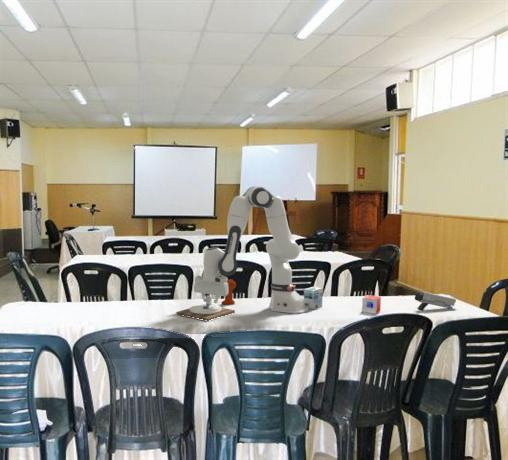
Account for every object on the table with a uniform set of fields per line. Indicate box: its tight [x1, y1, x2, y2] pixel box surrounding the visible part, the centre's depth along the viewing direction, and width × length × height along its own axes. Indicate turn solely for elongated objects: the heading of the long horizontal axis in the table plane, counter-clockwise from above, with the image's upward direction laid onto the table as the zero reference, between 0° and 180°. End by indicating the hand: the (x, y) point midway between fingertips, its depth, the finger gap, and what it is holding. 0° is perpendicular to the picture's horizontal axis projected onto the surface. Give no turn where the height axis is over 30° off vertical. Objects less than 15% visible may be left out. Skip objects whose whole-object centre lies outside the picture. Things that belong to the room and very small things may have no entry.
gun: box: [414, 291, 457, 311], centre depth 271 cm, size 2×25×10 cm, turn 101°
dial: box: [189, 295, 223, 315], centre depth 255 cm, size 17×17×6 cm
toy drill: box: [221, 278, 237, 306], centre depth 277 cm, size 5×19×15 cm, turn 100°
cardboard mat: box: [175, 303, 236, 322], centre depth 255 cm, size 22×22×2 cm
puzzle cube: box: [361, 294, 382, 314], centre depth 265 cm, size 8×8×8 cm
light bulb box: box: [303, 286, 324, 310], centre depth 272 cm, size 11×7×11 cm, turn 143°
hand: (210, 302), depth 261 cm, fingers open, 5 cm apart
